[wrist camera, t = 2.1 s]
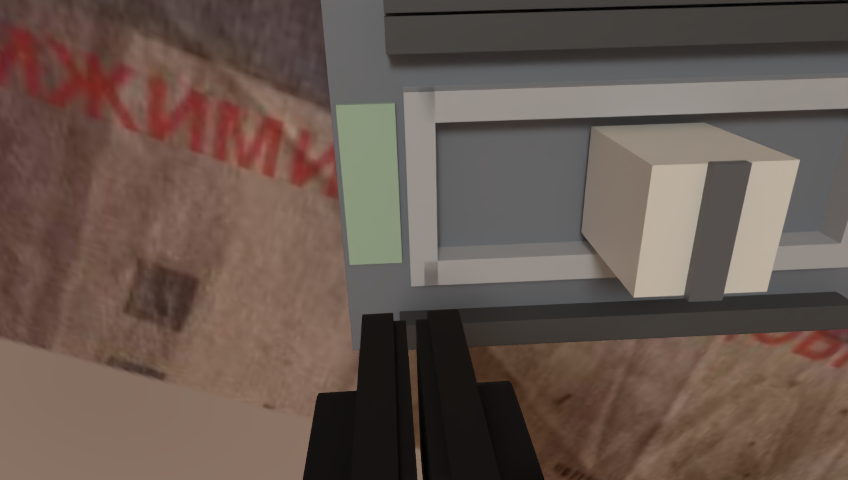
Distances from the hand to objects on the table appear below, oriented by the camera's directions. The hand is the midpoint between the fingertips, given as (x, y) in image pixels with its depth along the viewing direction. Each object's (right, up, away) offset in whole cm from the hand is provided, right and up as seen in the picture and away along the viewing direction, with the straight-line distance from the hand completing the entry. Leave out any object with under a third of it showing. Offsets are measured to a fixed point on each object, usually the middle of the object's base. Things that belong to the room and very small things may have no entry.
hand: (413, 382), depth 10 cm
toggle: (+8, +5, +10) cm, 14 cm away
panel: (+8, +6, +12) cm, 16 cm away
